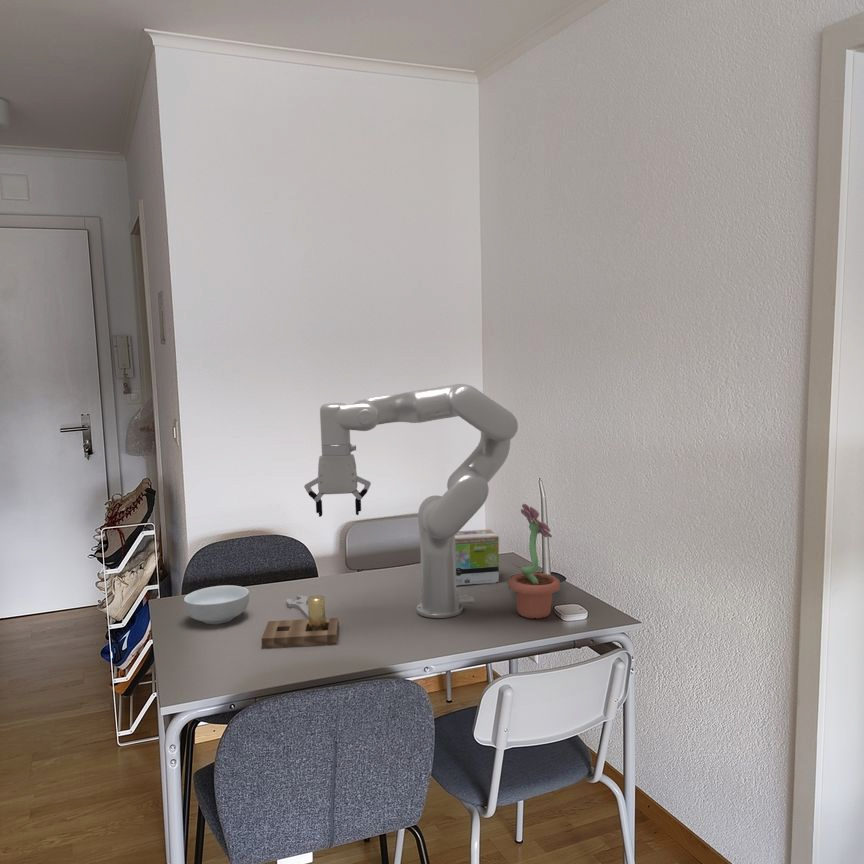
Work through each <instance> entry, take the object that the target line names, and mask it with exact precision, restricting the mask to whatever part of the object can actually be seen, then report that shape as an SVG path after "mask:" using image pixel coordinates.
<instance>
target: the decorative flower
mask: <svg viewBox="0 0 864 864" xmlns="http://www.w3.org/2000/svg"><path fill="white" fill-rule="evenodd" d="M520 513H521V514H522V515H523V516H524V517H525V518H526V520H527V522H528V524H529V526H528V528H529V531H530V534H529V542H528V543H529V545H528V547H529V553H530V559H531V565H530V566H523V567H520V566H517V565H516V564H514V563H512V565H513V566H515V567H516V568H520V572H521V573H517V574H514V575H512V576H510V578H509V579H508V581H507V586H508V589H510V590H511V591H513V592H515V594H516V595H515V597H516V609H517V613H518V614H519V615H520V616H521V617H524V618H526V619H534V618H536V619H543V617H544V618H547V617H548V616H549V615H550V614H551V610H552V602H553V601H552V600H553V593H557V592H558V591H560V590H561V585H562V584H561V581H560V579H558V577H557V576H554V575H551V574H548V573H544V572H543V573H542V571H541V570H540V567H539V558H538V553H537V537H538V535H540V534H541V536H543V537H544V538H548V537H549V538H552V537H553V536H552V534H551V533H550V532H551V530H550V527H549V526H548V525H547V523H545V522H543V521H540V520H539V519H538V518H539V516H540V513H539V511H538V510H536V509H535V508H534V507H532V506H529V504H526V503H522V505H521V509H520ZM537 571H538V572H537Z"/></svg>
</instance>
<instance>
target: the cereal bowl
mask: <svg viewBox="0 0 864 864" xmlns="http://www.w3.org/2000/svg"><path fill="white" fill-rule="evenodd" d="M183 603H184V604H183V605H184V609H185V612H186V614H187V615H188V616H189V617H190V618H192V619H194V620H197V621H199V622H203V623H205V624H206V625H207V624H208V625H219V624H224V623H225V624H226V623H228V622H231V621H232V620H233V619H234V618H235V617H238V616H240V615H241V614H242V613H243V612H244V611H245V610H246V609H247V607H248V605H249V603H250V592H249V589H248V588H246V587H243V586H241V585H239V586H238V585H228V584H227V585H215V586H210V587H204V588H201V589H200V588H199V589H197V590H194V591H192V592H190V593H188V594H186V596H185V597H184V598H183Z"/></svg>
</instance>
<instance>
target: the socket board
mask: <svg viewBox="0 0 864 864" xmlns="http://www.w3.org/2000/svg"><path fill="white" fill-rule="evenodd" d="M325 618H326V630H324V631H309V619H307V618H305V619H287V620H284V619H283V620H271V621H270V620H269V621H268V622H267V624H266V626H265V629H264V631H263V633H262V636H261V649H277V648H278V649H279V648H280V649H281V648H293V647H294V648H297V647H315V646H331V645H337V644H338V635H339V627H340V621H339V617H325Z"/></svg>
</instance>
